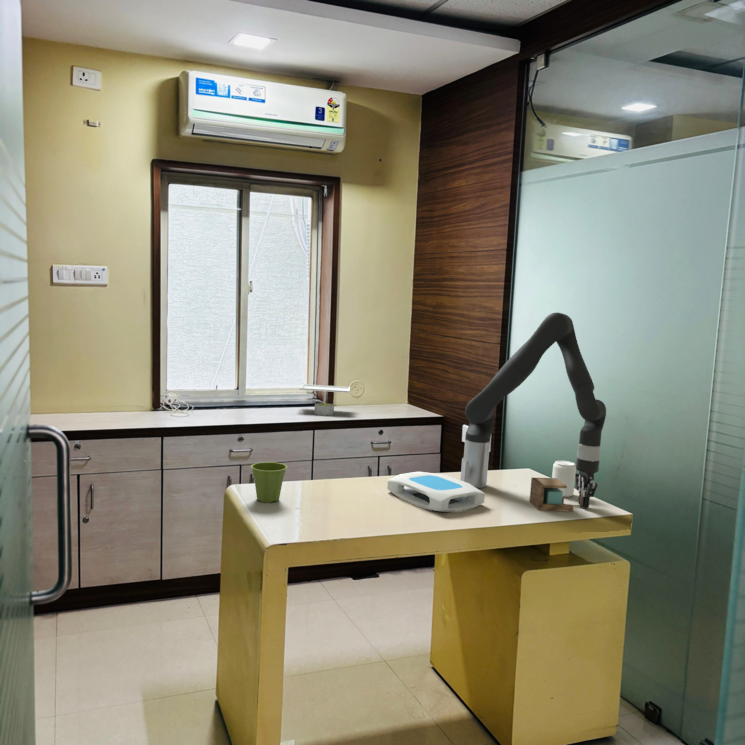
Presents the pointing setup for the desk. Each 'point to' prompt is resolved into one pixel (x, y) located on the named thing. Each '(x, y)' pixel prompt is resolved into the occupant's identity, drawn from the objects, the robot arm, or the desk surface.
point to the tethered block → (557, 496)
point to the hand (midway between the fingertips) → (583, 505)
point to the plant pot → (268, 480)
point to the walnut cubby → (538, 494)
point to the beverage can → (565, 476)
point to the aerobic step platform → (436, 491)
